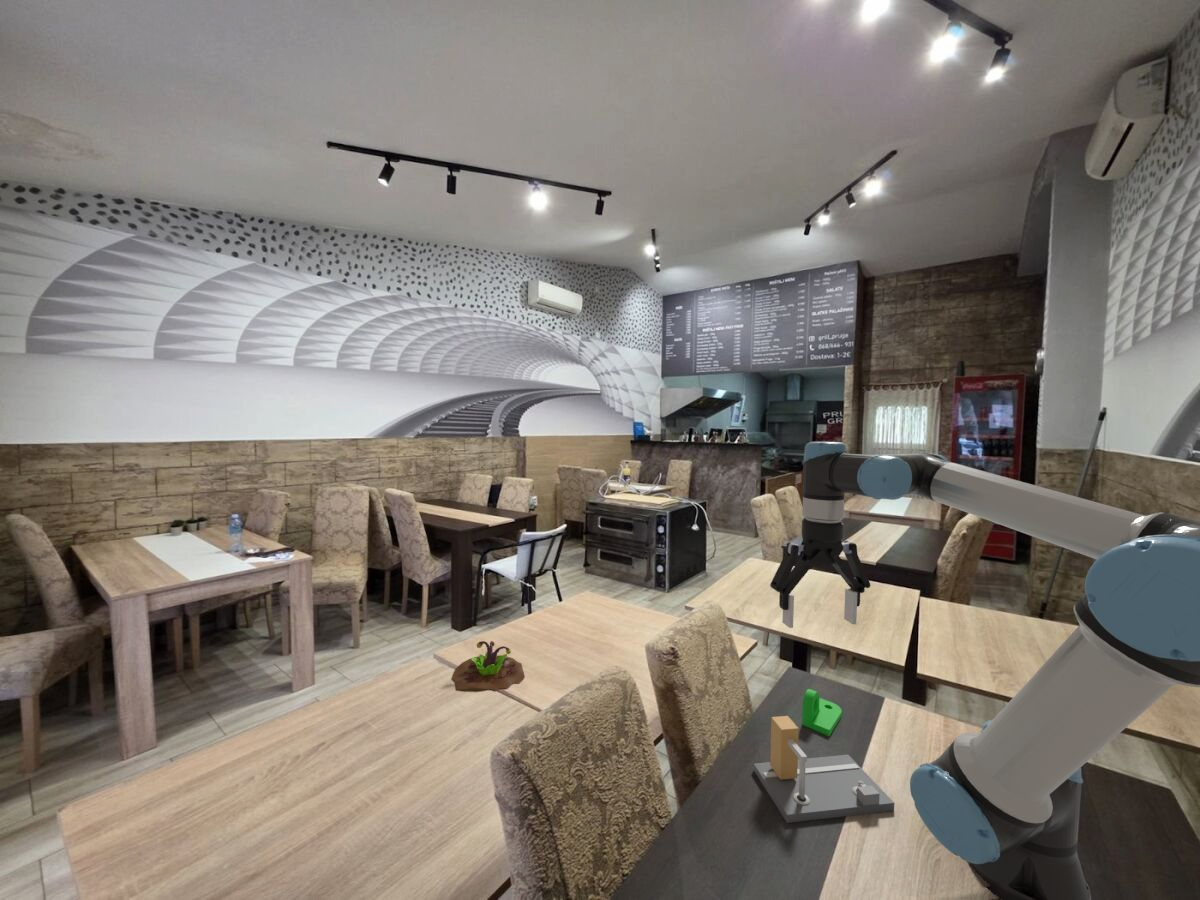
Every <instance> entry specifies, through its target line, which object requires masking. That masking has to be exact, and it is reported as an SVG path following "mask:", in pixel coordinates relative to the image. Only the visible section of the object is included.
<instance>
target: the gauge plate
mask: <svg viewBox="0 0 1200 900" xmlns="http://www.w3.org/2000/svg"><path fill="white" fill-rule="evenodd" d="M753 771H754V774H755V775H756V776H757V778H758V780H759V782H760V783H761V784H762V787H764V789H765V791H766V793H767V794H768V796H769V797H770V800H772V801H773V804H774V805H775V806H776V808H777V809H778V811H779V813H780V815H781V816H782V817H783V819H784V821H785V823H787V824H790V823H798V822H799V823H801V822H805V821H806V822H808V821H815V820H816V821H817V820H825V819H834V818H842V817H851V816H858V815H859V816H860V815H867V814H868V815H869V814H877V813H886V812H894V811H895V802H894V801H893V800H892V799H891V797H890V796H889V795H888V794H886V792H885V791H884V790H883V789H882V788H881V787H880V786H879V785H878V784H877V783H876V782H875V780H873V779H872V778H871V776H869V774H867V772H865V770H864V769H862V767H861V766H859V764H858V763H857V762H856V761H855V760H854V759H853V758H852V756H850V755H849V754H840V755H831V756H819V757H807V762H806V768H805V796H804V797H801V796H799V771H800V759H799V758H798V768H797V778H792V779H782V780H780V778H779V777H778V776H777V774H776V773H775V771H774V770H773V768H772V767H771V766H770V761H767V762H756V763H753Z"/></svg>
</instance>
